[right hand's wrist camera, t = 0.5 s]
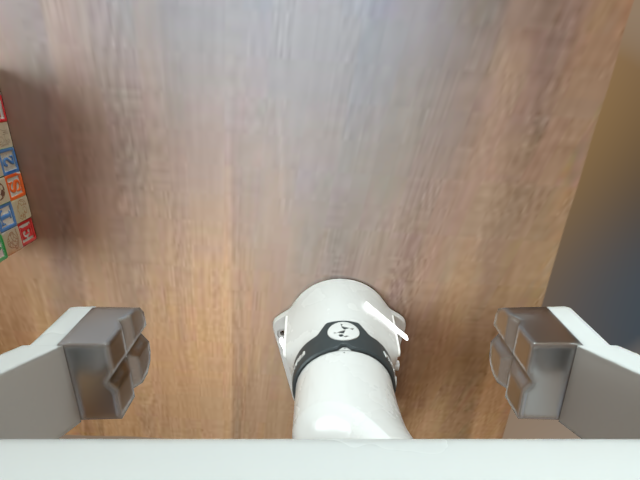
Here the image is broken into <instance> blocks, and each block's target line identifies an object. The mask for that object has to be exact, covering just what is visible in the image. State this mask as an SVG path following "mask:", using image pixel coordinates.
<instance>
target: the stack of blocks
mask: <svg viewBox="0 0 640 480" xmlns="http://www.w3.org/2000/svg"><path fill="white" fill-rule="evenodd" d="M35 239H37V237H36V234H35V230H34V226H33V222H32V219H31V212H30V208H29V204H28V200H27V197H26V193H25V188H24V184H23V180H22V176H21V172H20V171H19V166H18V163H17V159H16V155H15V151H14V148H13V143H12V140H11V136H10V132H9V128H8V124H7V117H6V113H5V109H4V105H3V101H2V97H1V94H0V262H1V261H3V260H5V259H6V258H7V257H8V256H10V255H12V254H13V253H15V252H17V251H18V250H20V249H22V248H23V247H24V246H26V245H27V244H29V243H31V242H32V241H34V240H35Z"/></svg>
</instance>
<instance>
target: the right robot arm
mask: <svg viewBox="0 0 640 480" xmlns="http://www.w3.org/2000/svg"><path fill="white" fill-rule="evenodd" d="M145 326H146V321H145V316H144V312H143V311H142V310H141V309H140V308H132V307H95V306H90V307H71V308H69V309H68V310H67V311H66V312H65V313H64V314H63V315H62V316H61V317H60V318H59V319H58V320H57V321H55V322H54V323H53V324H52V325H51V326H50V327H49V328H48V329H47V330H46V331H45V332H44V333H43V334H42V335H41V336H40V337H38V338H37V339H36V340H35V341H34V342H33V343H32V344H31V345H29V346H20V347H18V348H16V349H13V350H11V351H8V352H6V353H4V354H1V355H0V480H640V355H639V354H636V353H634V352H632V351H629V350H627V349H624V348H622V347H620V346H611V345H609V344H608V343H607V342H606V341H605V340H604V339H603V338H602V337H601V336H599V335H598V334H597V333H596V332H595V331H594V330H593V329H592V328H591V327H590V326H589V325H588V324H587V323H586V322H585V321H584V320H582V319H581V318H580V317H579V316H578V315H577V314H576V313H575V312H574V311H573V310H572V309H571V308H568V307H565V306H560V307H520V308H499V309H498V311H497V313H496V315H495V320H494V326H495V328H496V329H497V331H498V332H499V334H498V335H497V336H496V337H495V338H494V339H493V340H492V341H491V345H490V353H489V356H490V366H491V369H492V373H493V375H494V377H495V379H496V381H497V383H499V384H500V385H502V386H504V387H505V388H507V389H506V395H505V397H506V399H507V400H508V402H509V404H510V406H511V407H512V409H513V411H514V413H515V414H516V416H517V418H518V419H551V420H559V422H560V423H561V424H563V425H564V426H565V427H567V428H568V429H569V430H571V431H572V432H573V433H575V434H576V435H577V436H579V437H580V438H581V439H413V438H412V436H411V435H410V433H409V432H408V430H407V429H406V427H405V424H404V422H403V419H402V416H401V413H400V410H399V407H398V404H397V400H396V397H395V391H396V385H397V378H396V375H395V371H398V370H399V366H400V363H399V361H398V360H397V358H398V357H399V356H400V344H401V341H402V338H404V339H405V340H406V341H407V340H408V337H407V335H406V334H405V333H404V331H405V328H406V323H405V319H404V318H403V317H402V316H401V315H400V314H398V313H397V312H395V311H393V310H391V309H390V308H389V307H388V306H387V305H386V303H385V302H384V300H383V299H382V298H381V296H380V295H379V294H378V293H377V292H376V291H374V290H373V289H372V288H370V287H369V286H367V285H365V284H363V283H360V282H358V281H354V280H349V279H331V280H326V281H322V282H320V283H317V284H315V285H313V286H311V287H309V288H308V289H306V290H305V291H304V292H303V293H302V294H301V295H300V296H299V297H298V298H297V299H296V301H295V302H294V304H293V305H292V306H291V307H290V308H289V309H288V310H287V311H285V312H283V313H281V314H280V315H278V316H277V317H276V318H275V319H274V321H273V329H274V333H275V337H276V340H277V344H278V347H279V351H280V354H281V358H282V361H283V365H284V368H285V372H286V375H287V379H288V382H289V386H290V389H291V393H292V396H293V399H294V401H295V405H294V418H293V432H292V439H59V438H60V437H62V436H63V435H64V434H66V433H67V432H68V431H70V430H71V429H72V428H74V427H75V426H76V425H77V424H79V423H80V422H81V420H89V419H122V418H123V416H124V414H125V413H126V411H127V409H128V407H129V406H130V404H131V402H132V400H133V399H134V397H135V395H134V389H133V388H135V387H136V386H138V385H140V384H141V383H143V381H144V379H145V377H146V375H147V373H148V369H149V365H150V345H149V341H148V340H147V339H146V338H145V337H144V336H143V335H142V334H141V332H142V331H143V329H144V328H145ZM281 331H284V333H282V332H281Z"/></svg>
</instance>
